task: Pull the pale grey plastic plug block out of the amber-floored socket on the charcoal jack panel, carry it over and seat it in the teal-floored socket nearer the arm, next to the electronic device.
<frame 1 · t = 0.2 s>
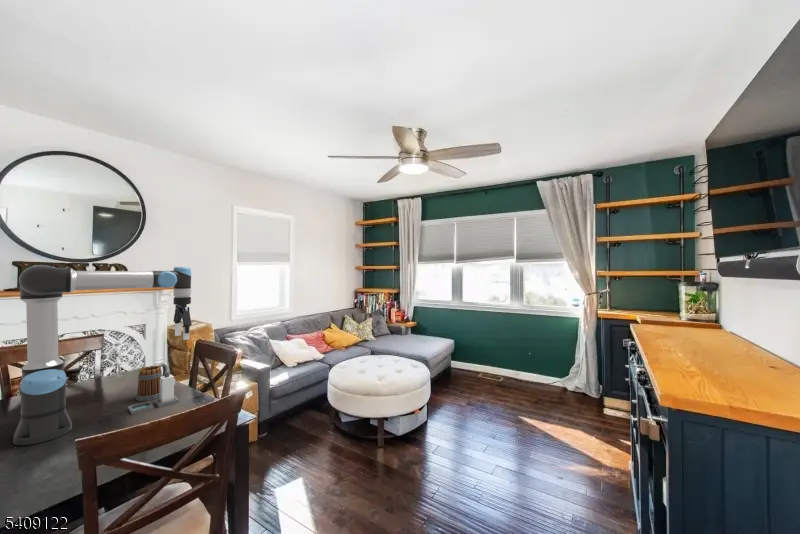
hand: (182, 337, 170), 27 cm above the table, fingers open, 13 cm apart
plug: (166, 402, 153), point 1 cm above the table, touching jack panel
mug: (154, 397, 161), on the table
jack panel: (154, 407, 149), on the table
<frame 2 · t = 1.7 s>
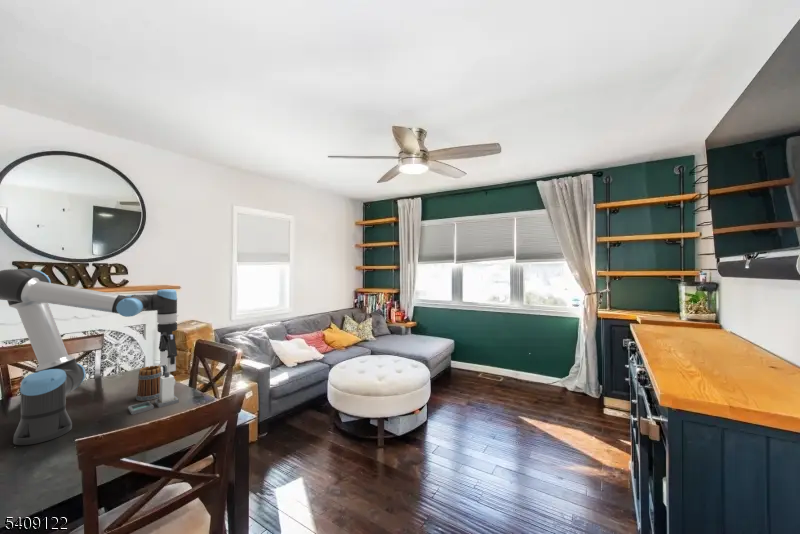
hand: (167, 368, 153), 17 cm above the table, fingers open, 13 cm apart
nothing on the table moved.
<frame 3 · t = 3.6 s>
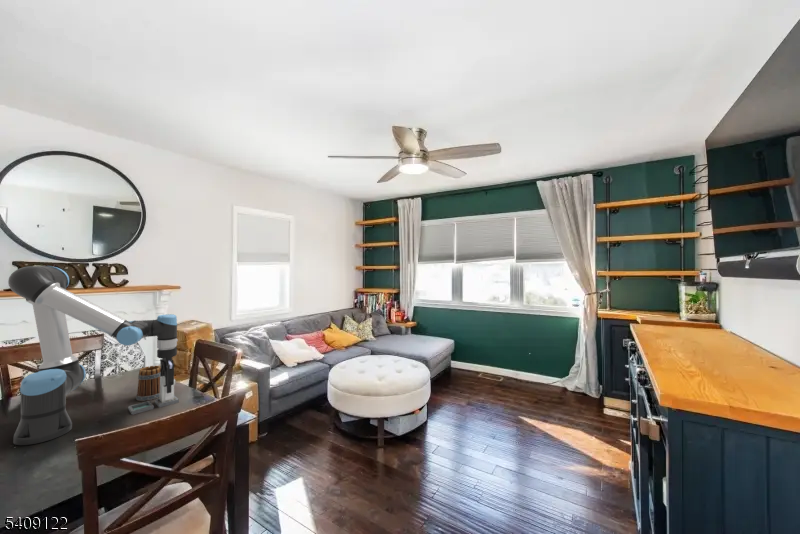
hand: (166, 397, 153), 3 cm above the table, fingers closed on plug, 4 cm apart
plug: (166, 402, 153), point 1 cm above the table, touching gripper, jack panel
everything else where it was.
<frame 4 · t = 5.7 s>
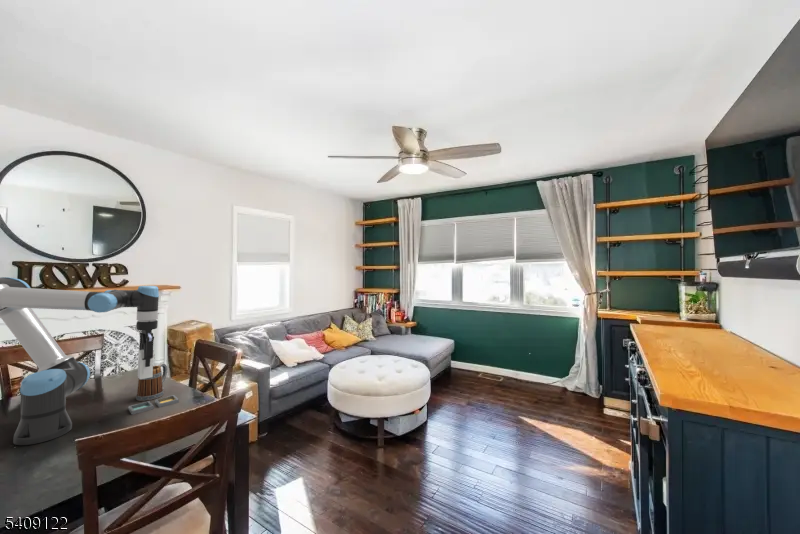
hand: (145, 372, 147), 17 cm above the table, fingers closed on plug, 4 cm apart
plug: (145, 377, 147), point 15 cm above the table, touching gripper
everything else where it was.
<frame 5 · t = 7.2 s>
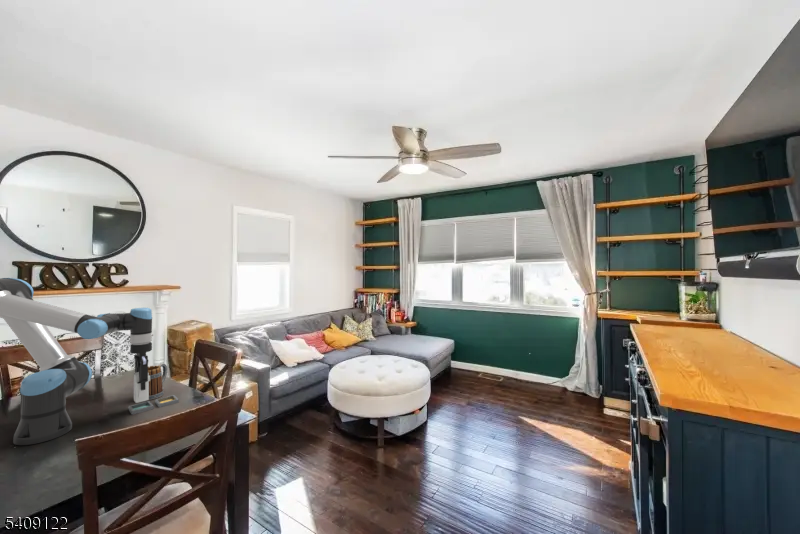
hand: (141, 395, 145), 7 cm above the table, fingers closed on plug, 4 cm apart
plug: (141, 400, 145), point 5 cm above the table, touching gripper
everything else where it was.
when the fingers open (4 cm above the table, at t = 8.1 s): plug drops 1 cm, resting on jack panel.
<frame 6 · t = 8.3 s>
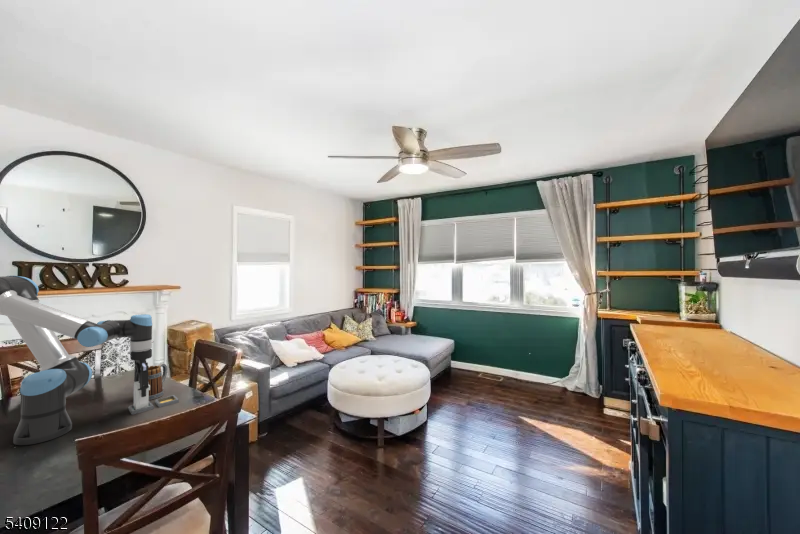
hand: (141, 400, 145), 5 cm above the table, fingers open, 7 cm apart
plug: (141, 409, 146), point 1 cm above the table, touching jack panel
everything else where it was.
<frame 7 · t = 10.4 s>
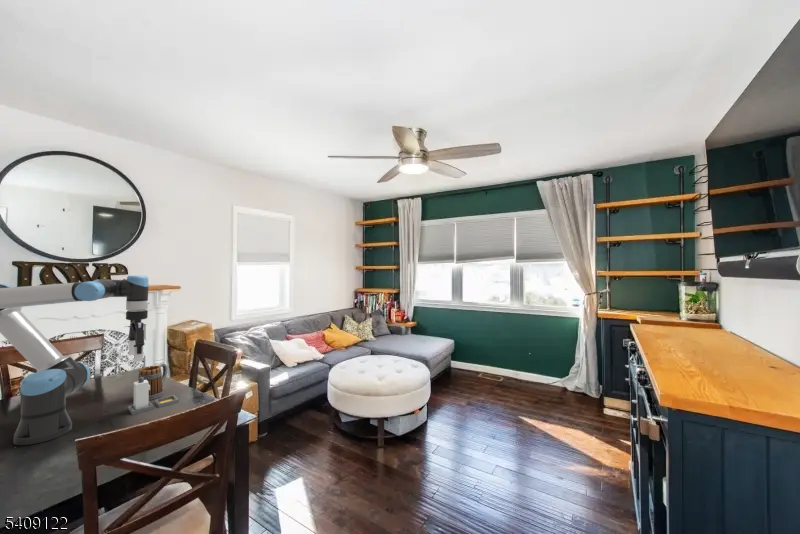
hand: (135, 358, 145), 24 cm above the table, fingers open, 13 cm apart
nothing on the table moved.
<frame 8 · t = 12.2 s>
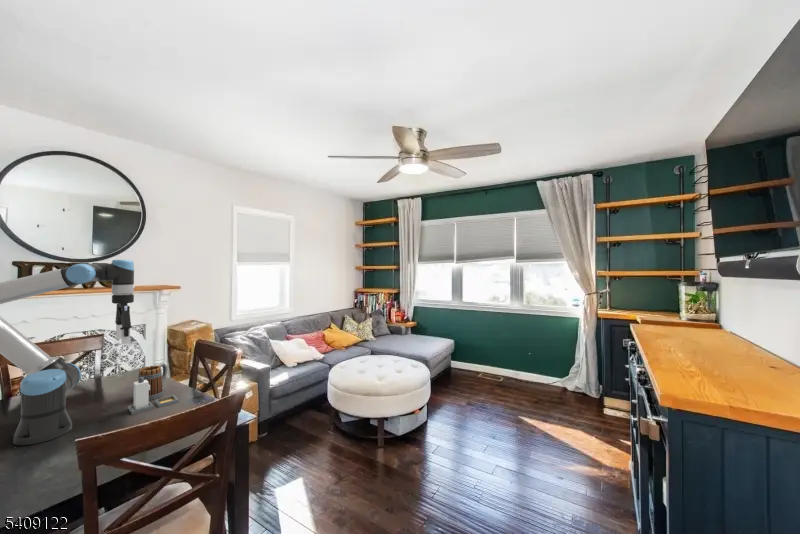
hand: (122, 341, 147), 31 cm above the table, fingers open, 13 cm apart
nothing on the table moved.
at the end: plug 0.0 cm from the target spot on the jack panel, point 1.0 cm above the jack panel's base; plug tilted 0°; the gripper is holding nothing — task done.
